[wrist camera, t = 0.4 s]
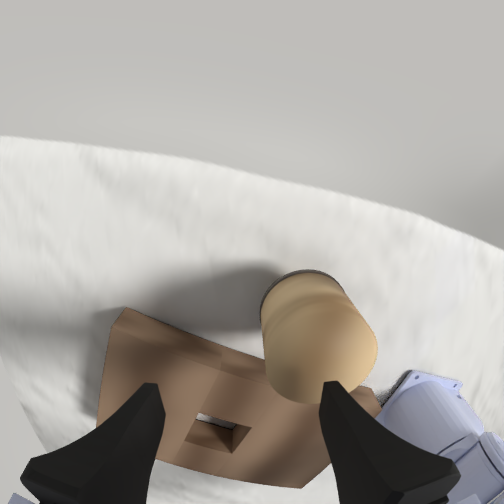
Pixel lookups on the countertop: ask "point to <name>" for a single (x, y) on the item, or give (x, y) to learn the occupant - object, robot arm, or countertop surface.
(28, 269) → the countertop surface
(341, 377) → the oak peg
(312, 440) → the walnut board
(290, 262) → the countertop surface
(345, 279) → the countertop surface
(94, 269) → the countertop surface
